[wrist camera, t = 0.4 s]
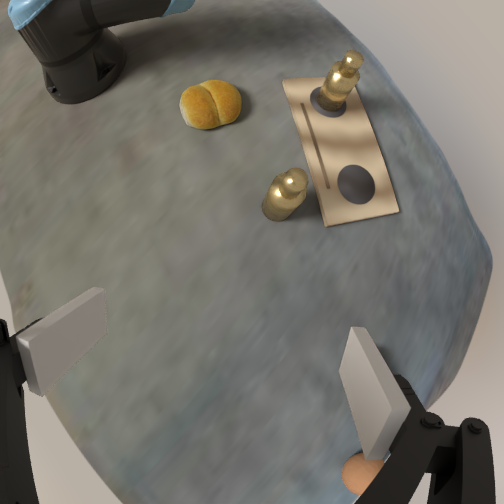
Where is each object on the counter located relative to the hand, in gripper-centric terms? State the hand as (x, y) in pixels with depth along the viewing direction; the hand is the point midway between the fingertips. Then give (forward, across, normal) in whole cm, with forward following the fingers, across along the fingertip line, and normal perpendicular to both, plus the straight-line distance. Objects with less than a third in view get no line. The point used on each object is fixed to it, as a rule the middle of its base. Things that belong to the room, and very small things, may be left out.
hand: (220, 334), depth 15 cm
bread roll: (+32, -9, +18) cm, 38 cm away
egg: (+18, +20, -31) cm, 41 cm away
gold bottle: (+34, +8, +22) cm, 41 cm away
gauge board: (+33, +11, +16) cm, 38 cm away
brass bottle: (+28, +2, +5) cm, 29 cm away
